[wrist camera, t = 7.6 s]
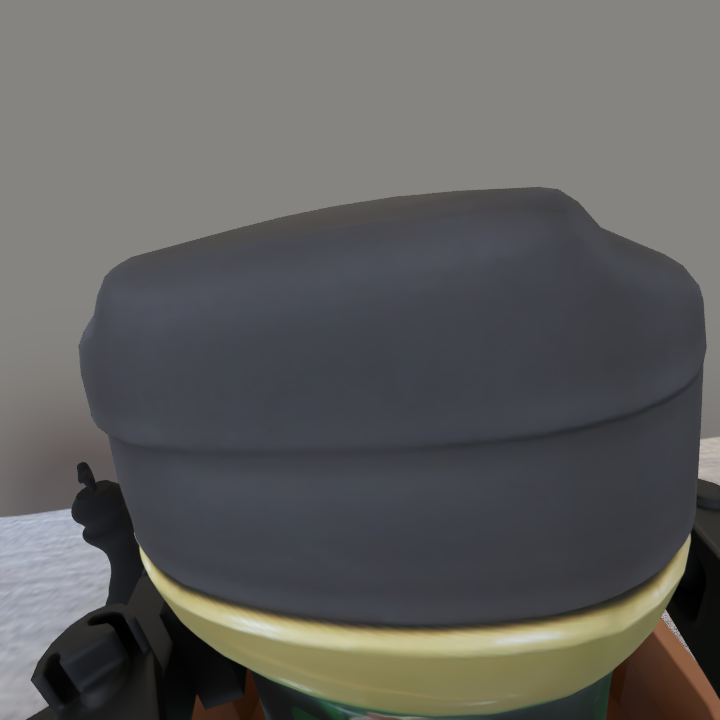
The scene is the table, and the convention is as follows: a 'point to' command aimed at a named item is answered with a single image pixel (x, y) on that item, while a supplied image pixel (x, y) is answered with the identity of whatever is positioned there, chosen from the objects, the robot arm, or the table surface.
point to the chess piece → (109, 532)
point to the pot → (626, 696)
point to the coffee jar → (409, 449)
